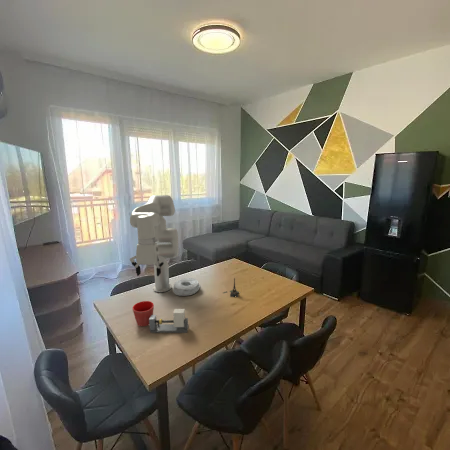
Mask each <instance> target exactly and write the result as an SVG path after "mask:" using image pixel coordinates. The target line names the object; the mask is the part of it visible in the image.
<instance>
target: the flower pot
mask: <svg viewBox="0 0 450 450" xmlns="http://www.w3.org/2000/svg"><path fill="white" fill-rule="evenodd" d="M154 305H155V304H154V303H153V302H152V301H149V300H142V301H140V302H136V303H135V304H134V305H133V306H132V313H133V315H134V319H135V322H136V324H137V326H139V327H147V326H150V325H149V319H150V317H151V315H154V307H155V306H154Z"/></svg>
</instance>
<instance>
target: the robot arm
mask: <svg viewBox="0 0 450 450" xmlns="http://www.w3.org/2000/svg"><path fill="white" fill-rule="evenodd" d="M175 209H176V208H175V203H174V199H173V198H172V197H171V196H170V195H167V194H163V195H162V194H160V195H157V194H155V195H151V196H150V197H149V198H148V199H147V202H146V203H145V204H143V205H140V206H137V207H136V208H134V209H133V211H132V212H131V214H130V218H129V224H130V226H131V227H132V228H135V229H136V228H137V242H138V243H137V244H136V251H135V253H136V254H135V255H133V256H132V257H130V258H129V262H130V263H131V265H132V266H134V269H135V273H136V276H137V277H139V276H140V275H141V274H142V271H141V266H140V265H143V266H144V265H146V266H147V265H149V266H151V265H153V269H154V270H153V271H154V272H153V273H154V286H152V290H153V291H154V292H156V293H166V292H169V291H170V290H171V289H172V287H173V286H172V284H171V283H170V273H169V271H170V270H169V269H170V267H169V262H168V261H167V259H176V258H178V257H179V250H180V249H179V235H178V230H177V229H176V228H174V227H167V221H166V219H165V217H172V216H173V215H175ZM158 243H159V244H158ZM160 243H161V244H160ZM166 243H168V244H166ZM135 260H136V261H135Z"/></svg>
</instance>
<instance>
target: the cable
mask: <svg viewBox="0 0 450 450" xmlns="http://www.w3.org/2000/svg"><path fill="white" fill-rule="evenodd" d="M200 289H201V285H200V284H199V280H198V279H196V278H195V277H194V278H193V277H187V278H181V279H179V280H178V279H177V280H176V281H175V282H174V283H173V294H175V295H177V296H180V297H182V296H183V297H184V296H185V297H188V296H191V295H192V296H193V295H194V294H196V293H197V292H198V291H199V290H200Z"/></svg>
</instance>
